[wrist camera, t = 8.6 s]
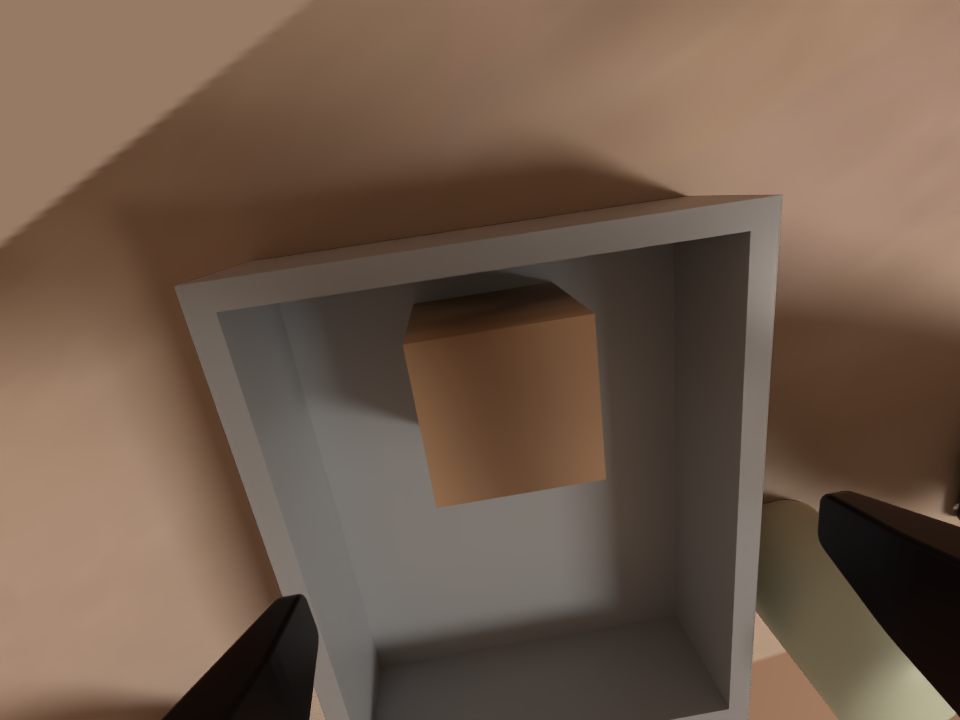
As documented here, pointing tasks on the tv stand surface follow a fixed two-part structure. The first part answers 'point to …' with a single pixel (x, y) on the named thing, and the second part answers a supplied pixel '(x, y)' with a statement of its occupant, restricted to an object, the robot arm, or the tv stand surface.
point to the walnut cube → (506, 392)
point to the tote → (523, 517)
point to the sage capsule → (833, 626)
